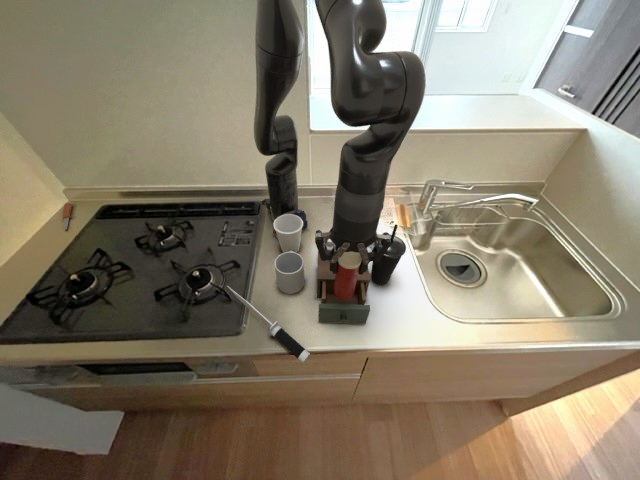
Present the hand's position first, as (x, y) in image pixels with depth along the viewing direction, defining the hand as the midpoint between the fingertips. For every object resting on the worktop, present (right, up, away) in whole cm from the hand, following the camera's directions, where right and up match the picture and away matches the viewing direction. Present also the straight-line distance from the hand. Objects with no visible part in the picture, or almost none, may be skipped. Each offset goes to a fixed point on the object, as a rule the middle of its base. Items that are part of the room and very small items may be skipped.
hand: (347, 270), depth 53 cm
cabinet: (0, -6, +17) cm, 18 cm away
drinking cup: (+11, -5, +19) cm, 23 cm away
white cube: (+13, +5, +29) cm, 32 cm away
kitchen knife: (-90, +15, +34) cm, 97 cm away
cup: (-14, -5, +18) cm, 23 cm away
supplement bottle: (-3, 0, +23) cm, 24 cm away
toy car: (-16, +13, +31) cm, 37 cm away
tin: (0, -5, +5) cm, 8 cm away
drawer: (0, -11, +11) cm, 15 cm away
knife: (-19, -14, +8) cm, 25 cm away
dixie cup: (-15, +4, +26) cm, 31 cm away
